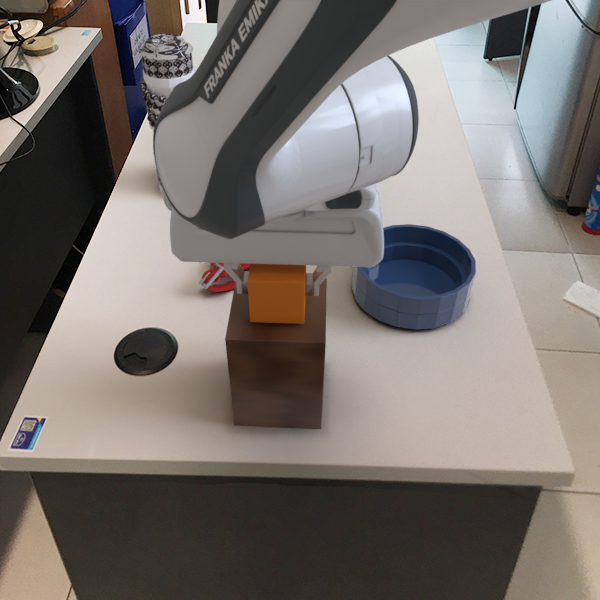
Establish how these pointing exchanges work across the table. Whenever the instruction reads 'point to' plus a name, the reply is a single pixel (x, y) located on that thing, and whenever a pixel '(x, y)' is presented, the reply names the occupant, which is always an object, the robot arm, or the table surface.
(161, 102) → the decorative candle
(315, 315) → the block
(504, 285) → the table surface
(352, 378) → the table surface
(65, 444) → the table surface
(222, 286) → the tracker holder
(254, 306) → the orange cube
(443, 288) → the bowl
